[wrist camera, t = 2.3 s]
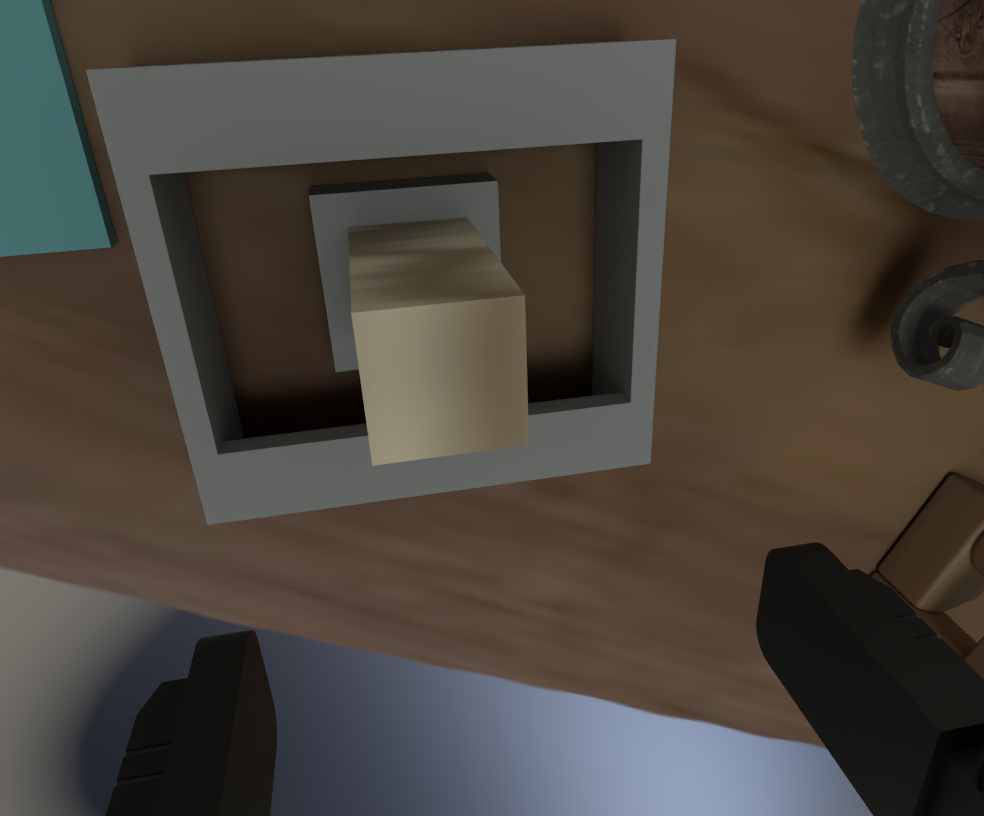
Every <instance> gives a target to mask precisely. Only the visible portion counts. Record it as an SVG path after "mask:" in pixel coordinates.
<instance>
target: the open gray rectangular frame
mask: <svg viewBox="0 0 984 816" xmlns="http://www.w3.org/2000/svg"><path fill="white" fill-rule="evenodd" d="M675 53H676V39H661V40H625V41H605V42H585V43H566V44H547V45H527V46H508V47H489V48H469V49H450V50H431V51H411V52H392V53H373V54H353V55H334V56H315V57H295V58H276V59H257V60H237V61H218V62H199V63H179V64H160V65H141V66H125V67H113V68H101V69H89V70H86V73H87V77H88V80H89V84H90V88H91V91H92V95H93V99H94V103H95V106H96V110H97V114H98V118H99V121H100V125H101V129H102V133H103V136H104V140H105V144H106V147H107V151H108V155H109V159H110V162H111V166H112V170H113V174H114V177H115V181H116V185H117V189H118V192H119V196H120V200H121V203H122V207H123V211H124V215H125V218H126V222H127V226H128V230H129V233H130V237H131V241H132V245H133V248H134V252H135V256H136V259H137V263H138V267H139V271H140V274H141V278H142V282H143V286H144V289H145V293H146V297H147V301H148V304H149V308H150V312H151V315H152V319H153V323H154V327H155V330H156V334H157V338H158V342H159V345H160V349H161V353H162V357H163V360H164V364H165V368H166V371H167V375H168V379H169V383H170V386H171V390H172V394H173V398H174V401H175V405H176V409H177V412H178V416H179V420H180V424H181V427H182V431H183V435H184V439H185V442H186V446H187V450H188V454H189V457H190V461H191V465H192V468H193V472H194V476H195V480H196V483H197V487H198V491H199V495H200V498H201V502H202V506H203V510H204V513H205V517H206V521H207V524H208V525H211V524H219V523H226V522H233V521H240V520H247V519H255V518H262V517H269V516H276V515H283V514H291V513H298V512H305V511H312V510H319V509H327V508H334V507H341V506H348V505H355V504H362V503H370V502H377V501H384V500H391V499H398V498H406V497H413V496H420V495H427V494H434V493H442V492H449V491H456V490H463V489H470V488H478V487H485V486H492V485H499V484H506V483H514V482H521V481H528V480H535V479H542V478H550V477H557V476H564V475H571V474H578V473H586V472H593V471H600V470H607V469H614V468H622V467H629V466H636V465H643V464H650V462H651V446H652V429H653V413H654V396H655V380H656V364H657V347H658V331H659V315H660V298H661V282H662V266H663V249H664V233H665V216H666V200H667V184H668V167H669V151H670V135H671V118H672V102H673V86H674V69H675ZM584 143H597V156H596V211H595V265H594V319H593V374H592V395H590V396H582V397H574V398H566V399H558V400H550V401H542V402H534V403H528V426H529V445H526V446H518V447H511V448H503V449H495V450H488V451H480V452H473V453H465V454H458V455H450V456H442V457H435V458H427V459H420V460H412V461H404V462H397V463H389V464H382V465H374V466H372V460H371V453H370V446H369V438H368V431H367V424H366V423H364V424H356V425H347V426H339V427H331V428H323V429H315V430H307V431H299V432H291V433H283V434H275V435H266V436H258V437H250V438H244V434H243V430H242V426H241V421H240V417H239V412H238V408H237V403H236V399H235V395H234V390H233V386H232V381H231V377H230V372H229V368H228V364H227V359H226V355H225V350H224V346H223V341H222V337H221V333H220V328H219V324H218V319H217V315H216V310H215V306H214V301H213V297H212V293H211V288H210V284H209V279H208V275H207V270H206V266H205V262H204V257H203V253H202V248H201V244H200V239H199V235H198V231H197V226H196V222H195V217H194V213H193V208H192V204H191V200H190V195H189V191H188V186H187V182H186V177H185V173H184V172H196V171H210V170H223V169H237V168H251V167H265V166H279V165H293V164H307V163H320V162H334V161H348V160H362V159H376V158H390V157H404V156H417V155H431V154H445V153H459V152H473V151H487V150H501V149H514V148H528V147H542V146H556V145H570V144H584ZM309 201H310V208H311V214H312V221H313V227H314V234H315V240H316V247H317V253H318V260H319V266H320V273H321V279H322V286H323V292H324V299H325V305H326V312H327V318H328V325H329V331H330V338H331V344H332V351H333V357H334V364H335V370H336V372H340V371H349V370H358V369H359V366H358V359H357V352H356V344H355V337H354V330H353V323H352V316H351V295H350V268H349V241H348V227H357V226H369V225H380V224H392V223H404V222H416V221H427V220H439V219H451V218H463V217H467V218H468V219H469V220H470V222H471V223H472V224H473V226H474V227H475V228H476V230H477V231H478V233H479V234H480V235H481V237H482V238H483V239H484V241H485V242H486V243H487V245H488V246H489V247H490V249H491V250H492V251H493V253H494V254H495V255H496V257H497V258H498V259H499V261H500V262H501V248H500V223H499V198H498V181H497V180H496V179H495V178H494V177H493V176H492V175H490V174H489V173H480V174H467V175H454V176H441V177H428V178H415V179H402V180H389V181H376V182H362V183H349V184H336V185H323V186H311V187H310V192H309Z"/></svg>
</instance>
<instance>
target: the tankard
mask: <svg viewBox="0 0 984 816" xmlns="http://www.w3.org/2000/svg"><path fill="white" fill-rule="evenodd" d="M852 79H853V89H854V99H855V108H856V115H857V119H858V122H859V125H860V128H861V132H862V135H863V138H864V141H865V145H866V148H867V150H868V152H869V153H870V155H871V157H872V159H873V160H874V162H875V164H876V165H877V167H878V169H879V171H880V172H881V174H882V176H883V177H884V178H885V179H886V180H887V181H888V182H889V183H890V184H891V185H892V186H893V187H894V188H895V189H896V190H897V191H898V192H899V193H900V194H901V195H902V196H903V197H904V198H905V199H906V200H908V201H910V202H912V203H913V204H915V205H917V206H919V207H920V208H922V209H924V210H926V211H927V212H929V213H933V214H937V215H941V216H944V217H948V218H952V219H956V220H984V0H862V2H861V6H860V11H859V15H858V19H857V24H856V28H855V38H854V53H853V67H852ZM982 296H984V260H979V261H974V262H969V263H965V264H960V265H955V266H950V267H947V268H945V269H943V270H941V271H939V272H937V273H935V274H933V275H932V276H930V277H928V278H926V279H924V280H922V281H921V282H920V283H919V284H918V285H917V286H916V287H915V288H914V289H913V290H912V291H911V292H910V293H909V294H908V295H907V296H906V297H905V299H904V300H903V302H902V303H901V305H900V306H899V308H898V309H897V311H896V314H895V317H894V320H893V323H892V326H891V346H892V349H893V351H894V354H895V357H896V360H897V362H898V364H899V365H900V367H901V368H902V369H903V370H904V371H905V372H906V373H907V374H908V375H909V376H911V377H915V378H918V379H921V380H924V381H927V382H930V383H934V384H937V385H940V386H943V387H947V388H950V389H953V390H956V391H961V390H966V389H971V388H975V387H977V386H978V385H980V384H981V383H982V382H984V326H982V325H980V324H977V323H974V322H971V321H968V320H965V319H962V318H960V317H957V316H953V315H954V314H955V313H956V312H957V311H958V310H960V309H961V308H962V307H963V306H964V305H965V304H967V303H969V302H971V301H973V300H975V299H977V298H980V297H982ZM939 346H942V347H945V348H950V347H951V348H950V349H949V350H948V352H947V353H946V355H945V356H944V357H942V358H941V357H940V354H939Z"/></svg>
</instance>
